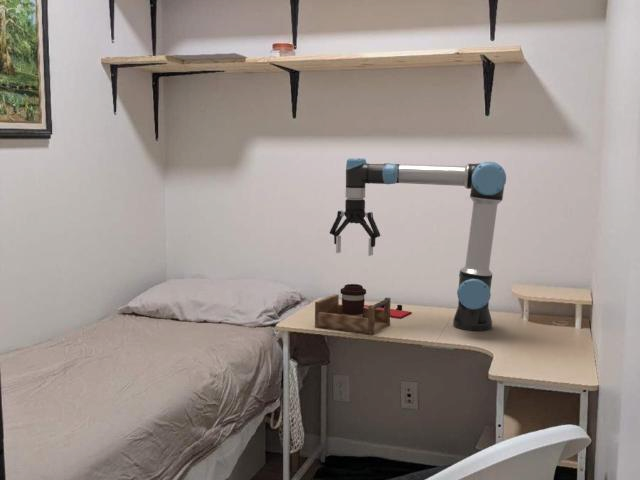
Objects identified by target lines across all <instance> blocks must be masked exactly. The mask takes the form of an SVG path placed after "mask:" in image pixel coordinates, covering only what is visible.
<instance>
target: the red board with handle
mask: <svg viewBox="0 0 640 480" xmlns="http://www.w3.org/2000/svg"><path fill="white" fill-rule="evenodd" d="M368 306H369V305H368V304H364V307H366V308H368ZM376 309H383V310H384V305H382V306H380V307H378V308H376ZM410 315H413V312H412V311H406V310H403V305H402V304H397V307H396V309H394V308H390V317H391V318H390V319H397V320H399V319H400V320H402V319H404V318H406V317H407V316H410Z"/></svg>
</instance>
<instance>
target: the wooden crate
mask: <svg viewBox="0 0 640 480" xmlns="http://www.w3.org/2000/svg"><path fill="white" fill-rule="evenodd" d="M339 299H340V296H339V294H338V293H337V294H336V293H335V294H332V295H329V296H328V297H325V298H322V299H319V300H317V301H315V302H314V328H317V329H323V330H331V331H337V332H344V333H345V332H346V333H353V334H358V335H367V336H374V335H375V334H377V333H379V332H381V331H383V330H384V329H387V328H388V327H389V326H391V318H390V309H391V303H392V302H391V300H392V299H391V297H385V298H384V299H383V300H381V301H379V302H377V303H375V304H373V305H372V304H369V305H368V308H366V307H364V312H363V317H356V316H348V315H343V312H342V303H341V304H339ZM382 305H384V310H383V309H376V308H378V307H380V306H382Z"/></svg>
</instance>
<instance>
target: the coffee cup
mask: <svg viewBox="0 0 640 480" xmlns="http://www.w3.org/2000/svg"><path fill="white" fill-rule="evenodd" d="M340 294H341V297H342V298H341V305H342V312H343V315H348V316H356V317H363V312H364V305H365V300H366V299H365V295H367V289H365V288H364V287H363V285H362V284H357V283H347V284H345V285H344V286H343V287H342V288H340Z"/></svg>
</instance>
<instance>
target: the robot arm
mask: <svg viewBox="0 0 640 480" xmlns="http://www.w3.org/2000/svg"><path fill="white" fill-rule="evenodd" d="M506 182H507V174H506V171H505V169H504V168H503V167H502V166H501V164H499V163H497V162H494V161H483V162H481V163H467V164H465V165H441V164H440V165H437V164H434V165H433V164H411V163H410V164H407V163H405V164H404V163H390V162H387V163H367V161H366V158H357V157H356V158H354V157H353V158H351V157H349V158H348V159H346V165H345V198H346V199H345V202H344V203H345V204H344V205H345V211H343V210H338V211H337V213H336V214H337V215H336V218H335V220H334V222H333V224H332V226H331V228H330V230H329V234H330V235H332V236H333V237H334V238H333V243H334V245H335V253H336V254H341V250H342V241H341V240H342V236H341V235H340V234H341V233H342V232H343V231H344V230H345V228H346V227H347V226H348V225H349V224H357V225H358V224H359V225H361V226H362V228H363V229H364V231H365V232H366V233H367V235H368V236H369V238H368V251H367V252H368V254H367V255H368V257H370V256H373V255H374V247H375V246H376V239H377V238H379V237H381V233H380V231H379V229H378V227H377V226H378V225H377V223H376V222H375V219H374V214H373V211H370V212H366V200H365V198H366V184H367V185H368V184H372V185H373V184H377V185H378V184H379V185H395V184H413V185H435V186H436V185H438V186H456V187H458V186H459V187H464V188H466V189H467V190H470V195H469V198H470V199H471V201H472V202H473V205H472V212H471V218H470V219H471V220H470V226H469V236H468V243H467V244H468V245H467V251H466V259H465V264H464V266H463V267H462V268H460V270H459V274H458V276H459V280H458V288H457V292H456V294H457V298H458V301H457V302H458V303H457V309H456V312H455V314H454V316H453V319H452V326H453V327H455V328H457V329H461V330H465V331H488V330H491V329H492V328H493V320H492V319H493V318H492V316H491V312H490V308H489V307H490V305H489V302H490V299H491V295H492V294H491V289H492V281H493V272H492V271H491V270H490V263H491V255H492V249H493V241H494V233H495V226H496V219H497V212H498V211H497V210H498V205H499V204H500V203H501V202H502V201H503V198H504V191H505V185H506ZM344 216H345V219H344V220H343V222H342V223H341V220H342V219H343V217H344ZM365 217H366V218H367V220H368V222H369V223H367V221H366V220H365ZM340 223H341V225H340ZM368 224H369V225H370V226H369V225H368Z"/></svg>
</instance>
